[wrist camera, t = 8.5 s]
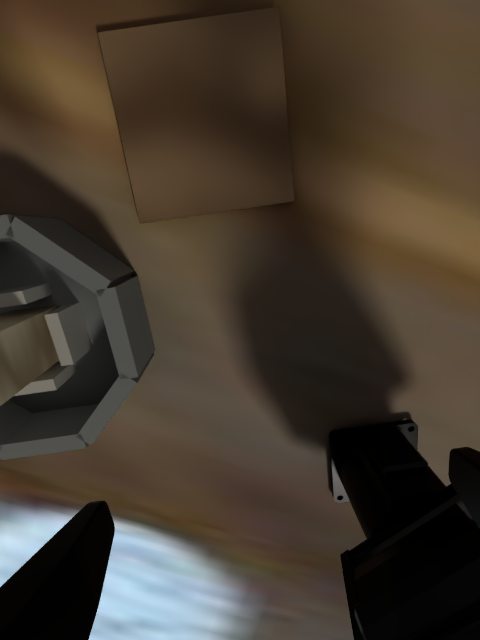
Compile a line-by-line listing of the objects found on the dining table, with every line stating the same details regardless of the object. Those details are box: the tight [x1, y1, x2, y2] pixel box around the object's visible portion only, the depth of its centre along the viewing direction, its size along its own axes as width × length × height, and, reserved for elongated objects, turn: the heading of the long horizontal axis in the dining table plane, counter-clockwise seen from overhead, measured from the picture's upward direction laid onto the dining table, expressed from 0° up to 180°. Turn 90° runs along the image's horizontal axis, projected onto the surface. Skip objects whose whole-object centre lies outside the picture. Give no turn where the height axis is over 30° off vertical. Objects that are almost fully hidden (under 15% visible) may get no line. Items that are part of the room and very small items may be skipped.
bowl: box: [0, 214, 155, 460], centre depth 18 cm, size 13×13×4 cm
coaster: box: [98, 7, 295, 223], centre depth 16 cm, size 9×9×1 cm
